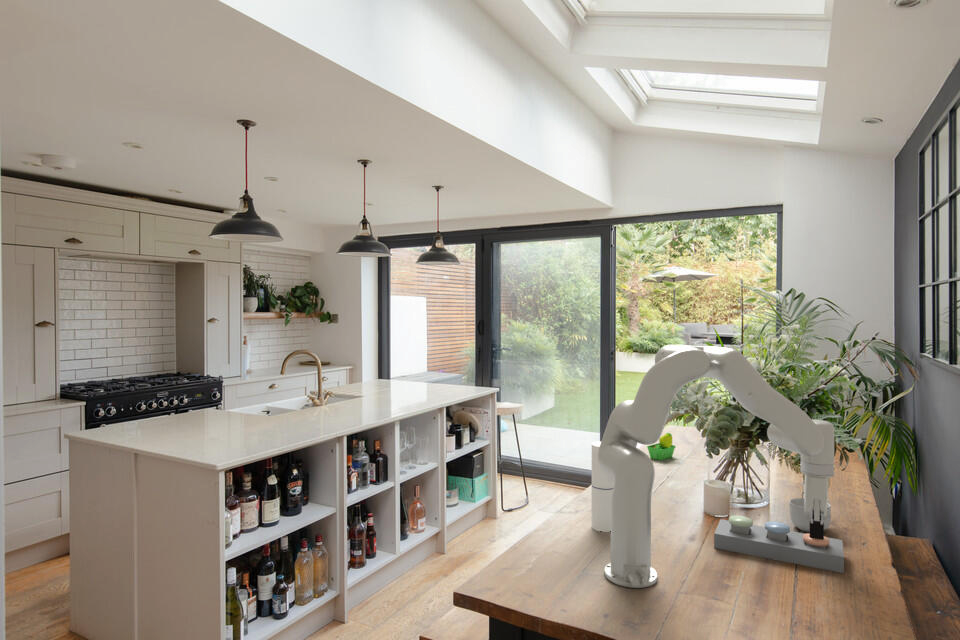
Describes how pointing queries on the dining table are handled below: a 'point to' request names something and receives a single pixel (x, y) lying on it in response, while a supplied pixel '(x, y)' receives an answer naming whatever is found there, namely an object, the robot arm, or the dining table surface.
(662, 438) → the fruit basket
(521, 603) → the dining table surface
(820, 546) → the button terracotta
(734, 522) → the button sage
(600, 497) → the cylindrical container
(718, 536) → the button panel
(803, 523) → the teacup
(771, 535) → the button slate
